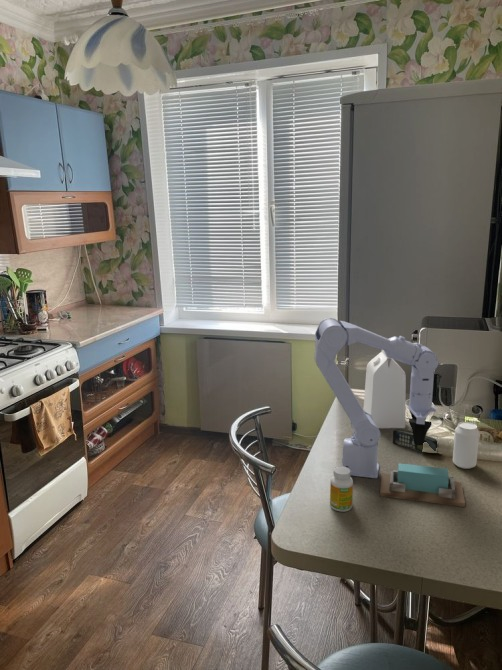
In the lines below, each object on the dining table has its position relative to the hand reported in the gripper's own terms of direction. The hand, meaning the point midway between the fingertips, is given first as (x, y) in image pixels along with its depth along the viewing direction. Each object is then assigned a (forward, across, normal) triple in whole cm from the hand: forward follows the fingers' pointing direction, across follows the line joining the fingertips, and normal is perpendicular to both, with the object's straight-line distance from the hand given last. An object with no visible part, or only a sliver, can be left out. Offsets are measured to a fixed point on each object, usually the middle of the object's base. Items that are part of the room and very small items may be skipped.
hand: (418, 438), depth 141 cm
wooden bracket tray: (+9, -11, -1) cm, 15 cm away
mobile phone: (+10, +13, 0) cm, 16 cm away
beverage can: (+10, +6, -13) cm, 17 cm away
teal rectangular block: (+8, -11, -1) cm, 14 cm away
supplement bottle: (+10, -23, +18) cm, 31 cm away
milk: (+10, +32, +10) cm, 35 cm away
